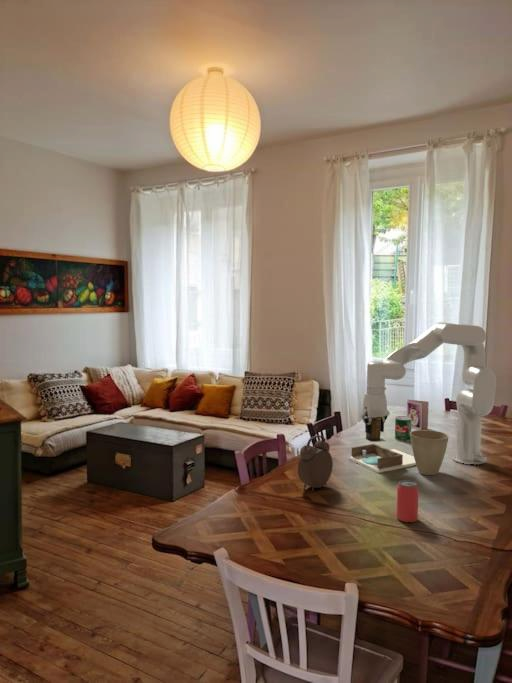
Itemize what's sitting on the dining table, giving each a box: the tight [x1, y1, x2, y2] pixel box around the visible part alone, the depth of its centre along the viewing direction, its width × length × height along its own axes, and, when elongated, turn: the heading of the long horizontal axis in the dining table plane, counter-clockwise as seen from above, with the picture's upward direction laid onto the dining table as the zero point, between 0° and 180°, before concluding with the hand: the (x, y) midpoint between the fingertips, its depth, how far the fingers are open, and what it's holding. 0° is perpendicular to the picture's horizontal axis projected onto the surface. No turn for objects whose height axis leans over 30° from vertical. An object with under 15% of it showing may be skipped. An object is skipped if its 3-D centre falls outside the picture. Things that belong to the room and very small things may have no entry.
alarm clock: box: [297, 434, 333, 492], centre depth 189 cm, size 15×7×20 cm, turn 134°
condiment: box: [361, 417, 386, 443], centre depth 216 cm, size 7×8×12 cm
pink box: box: [406, 399, 430, 430], centre depth 276 cm, size 11×7×15 cm, turn 25°
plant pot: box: [410, 429, 449, 476], centre depth 206 cm, size 15×15×16 cm
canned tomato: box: [394, 415, 412, 442], centre depth 254 cm, size 8×8×11 cm
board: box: [348, 448, 417, 474], centre depth 220 cm, size 19×26×4 cm
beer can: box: [396, 479, 420, 523], centre depth 163 cm, size 7×7×12 cm
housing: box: [351, 443, 403, 469], centre depth 217 cm, size 18×13×4 cm
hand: (374, 431), depth 216 cm, fingers closed on condiment, 6 cm apart
